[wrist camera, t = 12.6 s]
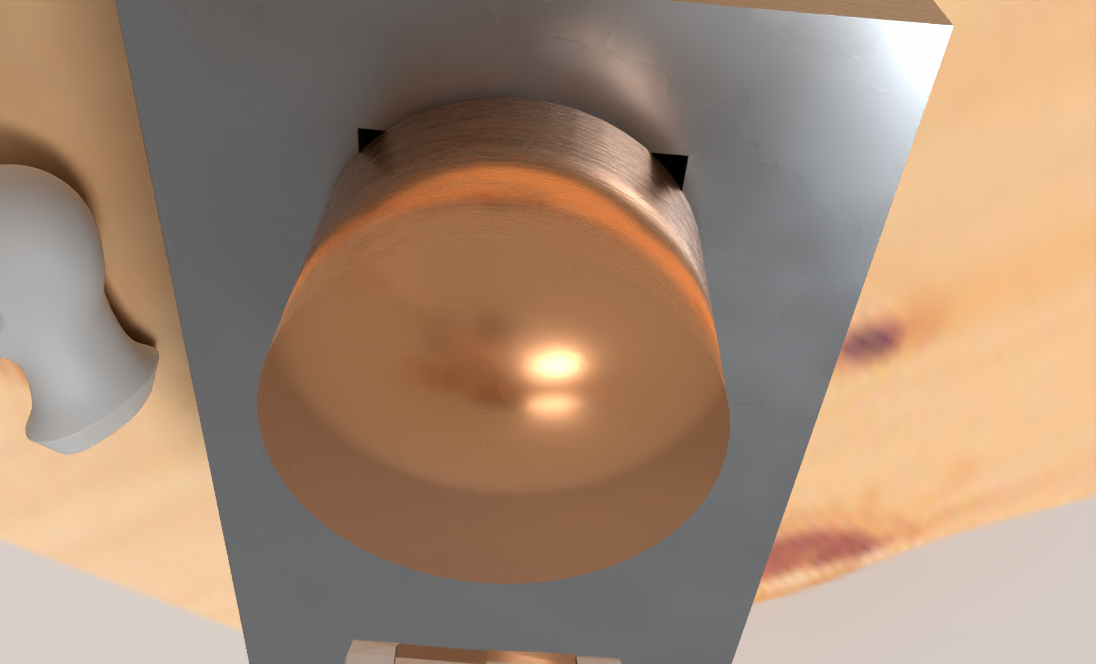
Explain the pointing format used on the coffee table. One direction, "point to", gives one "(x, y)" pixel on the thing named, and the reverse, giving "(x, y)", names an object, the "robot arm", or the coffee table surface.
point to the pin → (500, 349)
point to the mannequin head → (64, 316)
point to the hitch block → (606, 93)
